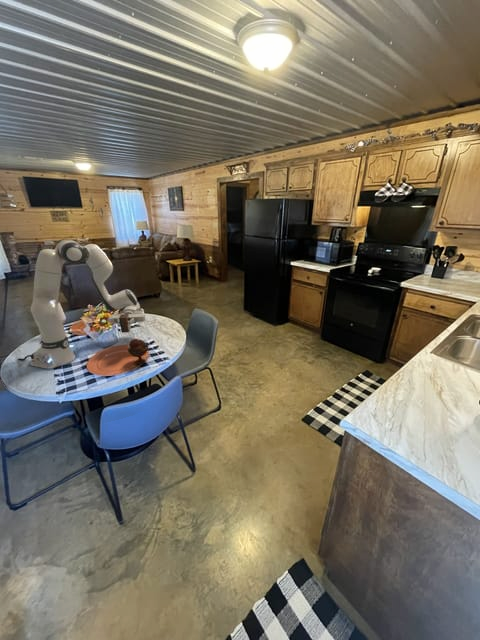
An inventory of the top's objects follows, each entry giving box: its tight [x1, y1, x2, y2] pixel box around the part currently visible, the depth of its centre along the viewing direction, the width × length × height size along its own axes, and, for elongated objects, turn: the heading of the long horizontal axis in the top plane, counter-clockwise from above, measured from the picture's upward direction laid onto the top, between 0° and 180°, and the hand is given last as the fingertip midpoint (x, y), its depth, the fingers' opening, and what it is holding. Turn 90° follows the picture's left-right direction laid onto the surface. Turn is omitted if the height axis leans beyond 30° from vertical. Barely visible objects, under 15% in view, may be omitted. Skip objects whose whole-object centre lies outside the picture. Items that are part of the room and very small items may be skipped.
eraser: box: [119, 314, 132, 334], centre depth 151 cm, size 4×6×9 cm
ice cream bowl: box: [127, 338, 149, 366], centre depth 148 cm, size 11×11×15 cm
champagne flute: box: [57, 301, 71, 338], centre depth 177 cm, size 7×7×24 cm
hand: (124, 323), depth 150 cm, fingers closed on eraser, 4 cm apart
